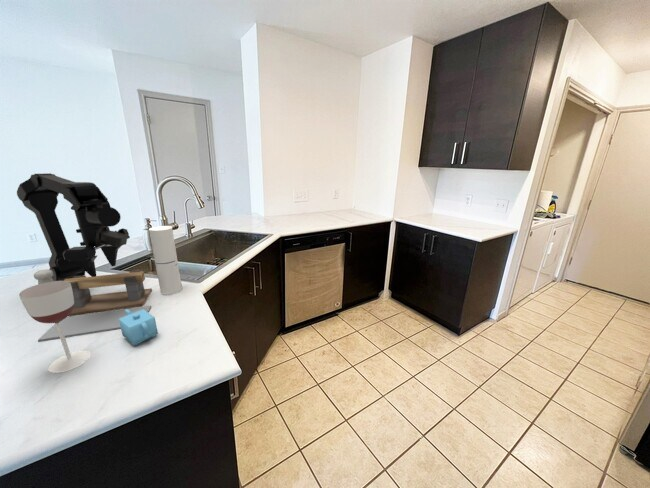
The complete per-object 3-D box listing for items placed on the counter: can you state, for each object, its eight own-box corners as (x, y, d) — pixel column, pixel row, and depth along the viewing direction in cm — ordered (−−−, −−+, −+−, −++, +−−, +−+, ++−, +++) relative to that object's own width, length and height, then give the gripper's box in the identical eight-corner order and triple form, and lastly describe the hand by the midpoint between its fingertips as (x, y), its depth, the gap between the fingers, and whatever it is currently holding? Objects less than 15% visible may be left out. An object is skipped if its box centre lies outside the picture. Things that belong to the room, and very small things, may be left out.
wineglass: (53, 379, 58) (24, 301, 52) (42, 363, 62) (14, 290, 56) (97, 358, 64) (76, 287, 58) (84, 345, 69) (63, 277, 63)
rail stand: (80, 299, 91) (73, 273, 88) (152, 290, 98) (147, 266, 95) (60, 317, 80) (51, 289, 77) (142, 306, 88) (136, 279, 85)
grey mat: (62, 319, 79) (61, 317, 79) (151, 307, 87) (151, 305, 87) (38, 341, 70) (37, 339, 69) (141, 325, 77) (141, 323, 77)
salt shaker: (50, 311, 83) (37, 275, 79) (36, 309, 84) (23, 273, 80) (70, 302, 89) (59, 268, 85) (57, 300, 90) (46, 266, 86)
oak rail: (68, 287, 85) (65, 278, 84) (145, 278, 92) (143, 271, 91) (63, 291, 82) (60, 282, 82) (142, 282, 90) (141, 274, 89)
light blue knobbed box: (118, 333, 74) (112, 311, 71) (142, 323, 78) (137, 302, 76) (136, 350, 67) (130, 326, 65) (161, 338, 72) (156, 315, 70)
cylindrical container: (156, 292, 97) (144, 229, 90) (173, 284, 103) (163, 225, 96) (169, 296, 95) (158, 231, 87) (186, 288, 101) (176, 227, 93)
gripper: (98, 230, 71) (112, 281, 75) (136, 217, 89) (146, 259, 93) (53, 231, 70) (70, 283, 74) (101, 219, 87) (112, 261, 92)
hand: (104, 271), depth 83 cm, fingers open, 9 cm apart
